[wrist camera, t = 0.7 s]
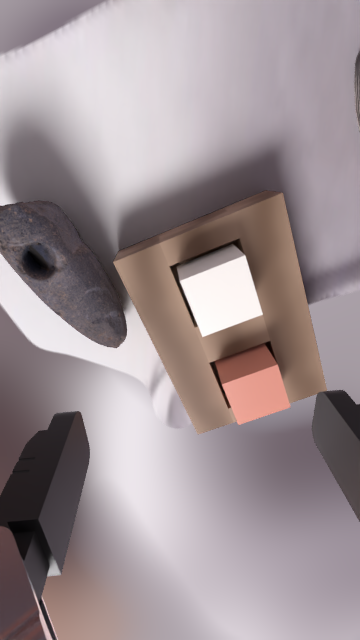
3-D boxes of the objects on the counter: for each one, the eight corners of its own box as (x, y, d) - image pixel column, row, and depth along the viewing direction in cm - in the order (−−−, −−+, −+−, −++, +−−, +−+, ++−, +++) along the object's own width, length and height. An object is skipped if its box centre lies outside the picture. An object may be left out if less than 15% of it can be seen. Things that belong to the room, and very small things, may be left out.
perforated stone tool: (146, 317, 31) (143, 353, 25) (102, 341, 32) (89, 381, 26) (50, 173, 25) (15, 173, 19) (-1, 206, 26) (-51, 216, 20)
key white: (232, 243, 26) (245, 255, 22) (249, 296, 28) (262, 314, 24) (176, 266, 26) (179, 280, 23) (196, 316, 28) (202, 337, 25)
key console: (265, 190, 27) (282, 192, 23) (309, 368, 35) (327, 390, 32) (118, 251, 28) (112, 262, 25) (193, 408, 37) (198, 434, 33)
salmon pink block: (263, 341, 30) (277, 364, 26) (275, 380, 32) (290, 407, 28) (214, 359, 30) (221, 384, 27) (229, 397, 32) (238, 424, 29)
